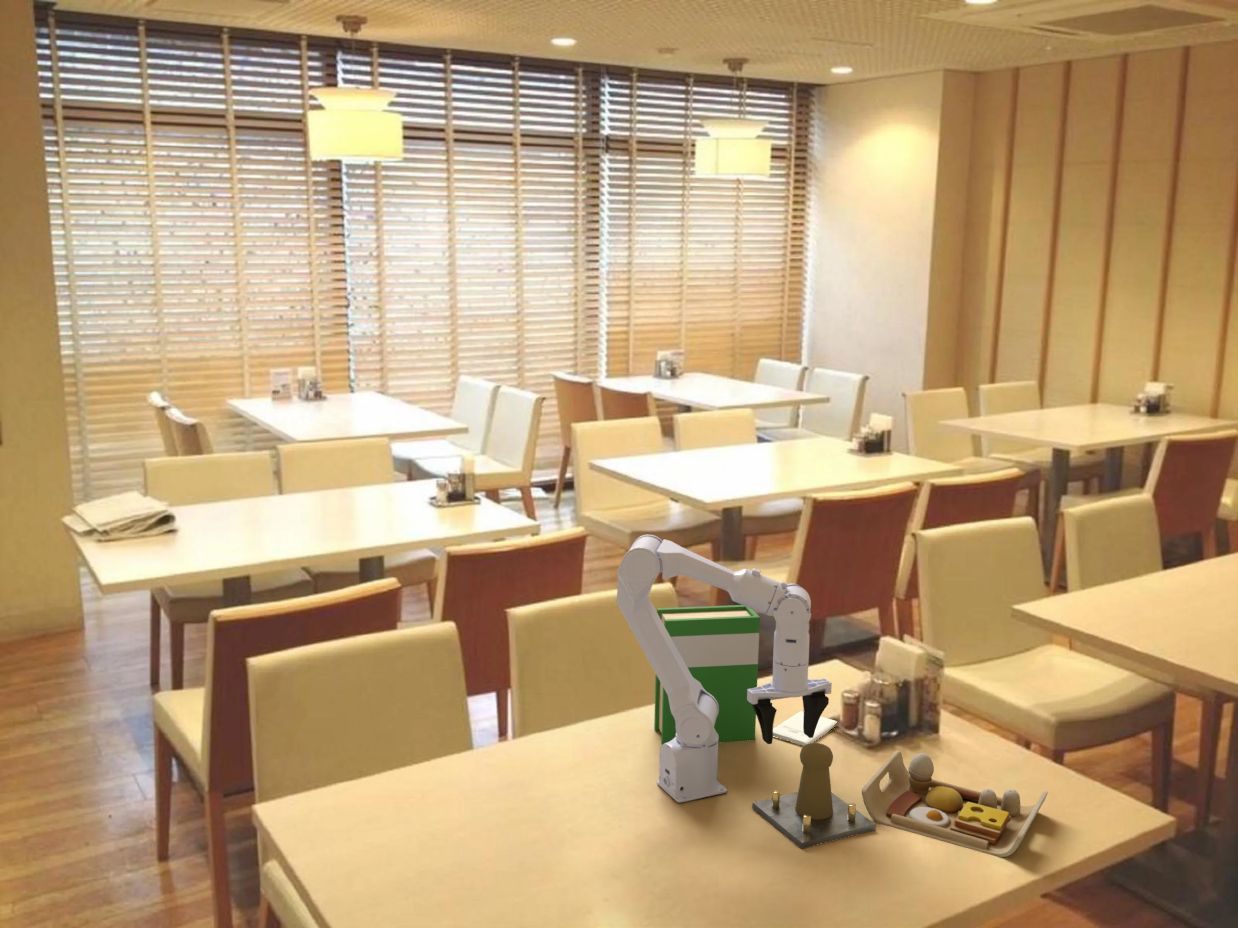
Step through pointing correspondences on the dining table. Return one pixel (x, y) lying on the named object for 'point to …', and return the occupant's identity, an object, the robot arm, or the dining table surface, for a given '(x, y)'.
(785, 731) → the external hard drive
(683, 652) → the hardback book
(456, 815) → the dining table surface
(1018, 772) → the dining table surface
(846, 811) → the chassis plate
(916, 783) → the toy food set
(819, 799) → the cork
